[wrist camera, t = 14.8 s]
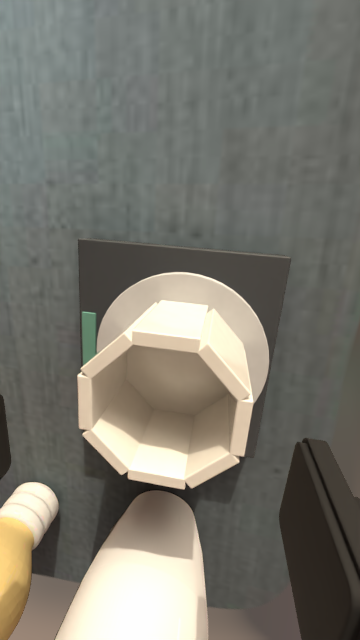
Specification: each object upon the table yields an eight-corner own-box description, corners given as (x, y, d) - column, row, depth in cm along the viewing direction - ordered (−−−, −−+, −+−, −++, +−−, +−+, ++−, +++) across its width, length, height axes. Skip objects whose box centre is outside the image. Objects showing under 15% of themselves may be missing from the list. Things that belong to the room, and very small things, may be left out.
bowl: (121, 295, 15) (74, 322, 11) (251, 309, 15) (264, 346, 10) (119, 406, 17) (79, 470, 13) (233, 424, 17) (236, 500, 12)
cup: (100, 474, 22) (4, 660, 12) (208, 472, 20) (192, 682, 11) (123, 554, 24) (56, 766, 14) (222, 558, 22) (220, 798, 13)
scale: (90, 238, 17) (73, 238, 15) (285, 255, 15) (293, 258, 14) (92, 415, 20) (78, 434, 18) (251, 441, 19) (254, 464, 17)
